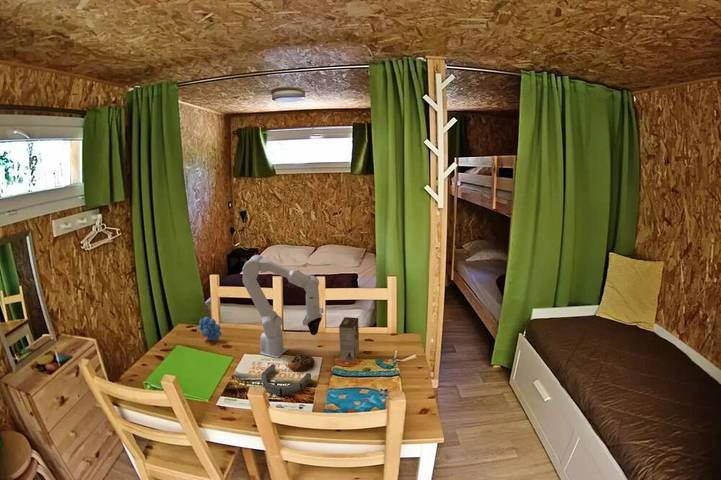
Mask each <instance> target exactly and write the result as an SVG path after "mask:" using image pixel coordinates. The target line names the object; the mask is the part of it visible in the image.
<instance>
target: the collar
mask: <svg viewBox="0 0 721 480" xmlns="http://www.w3.org/2000/svg"><path fill="white" fill-rule="evenodd" d="M275 372H276V365H275V364H270V366H268V367H267V368H266V369H265V370H264V371H262V372H261V374H260V376H261V377H260V378H261V384H263V385H262V388H263V387H265V388H266V390H267V391H268V392H267V393H270V394H273V395H277V396H285V395H289V394H293V393H297V392H301V390H302V391H303V390H304V388H305V387H307V385H308V384H309V383H310V381H312V373H309V372H307V373H306V374H305V375H304V376H303V377H302V378H301V380H299V381H298V382H295V383H291V384H288V385H282V386H281V385H276V384H272V383H270V382H268V380H267V379H268V378H269V377H271V375H273V374H274V373H275Z"/></svg>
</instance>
